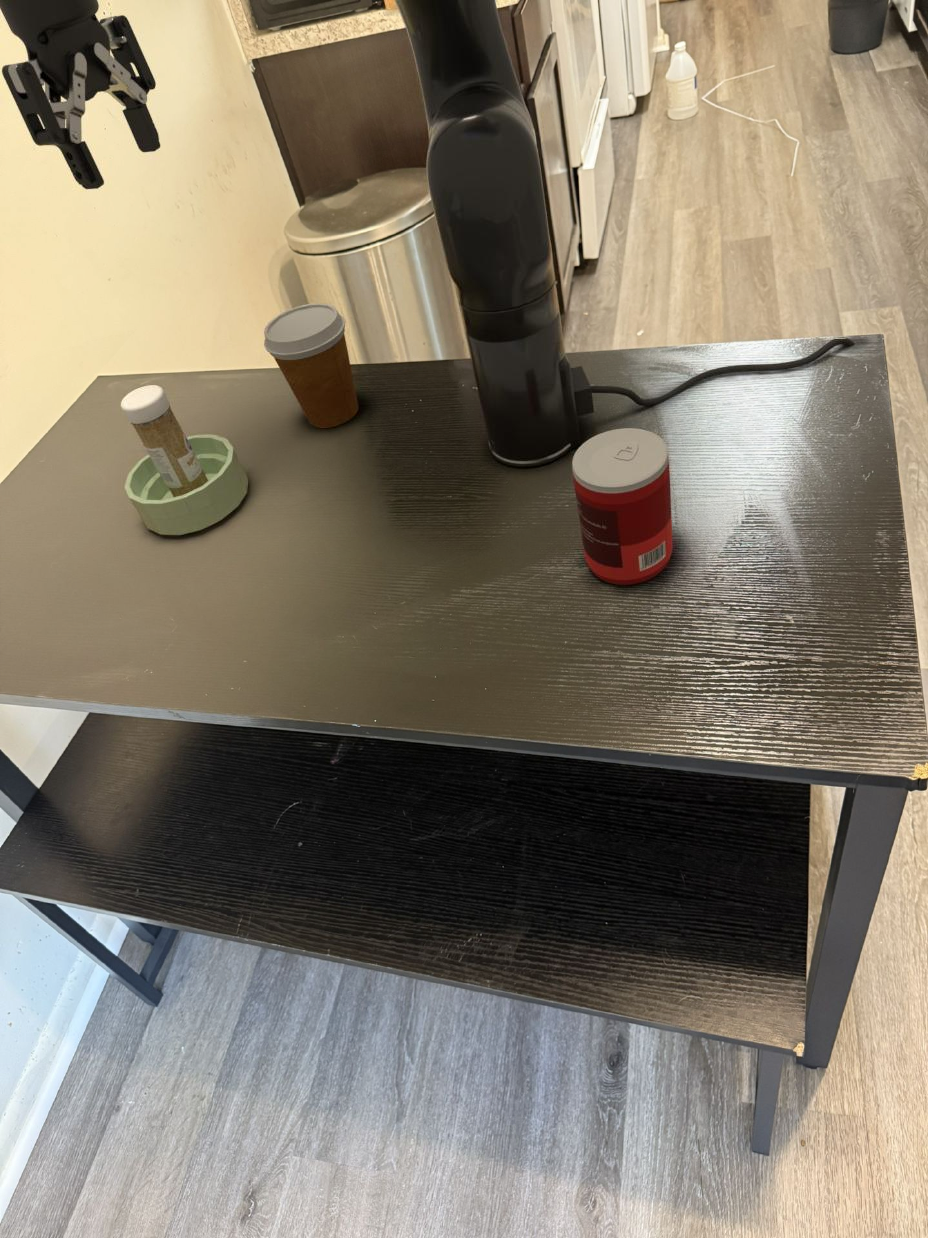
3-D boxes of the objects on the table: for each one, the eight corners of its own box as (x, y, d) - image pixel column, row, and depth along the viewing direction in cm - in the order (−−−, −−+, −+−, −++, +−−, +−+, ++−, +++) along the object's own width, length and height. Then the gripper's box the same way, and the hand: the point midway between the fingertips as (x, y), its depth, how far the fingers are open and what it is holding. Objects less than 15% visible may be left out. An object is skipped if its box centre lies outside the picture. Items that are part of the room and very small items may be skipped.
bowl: (253, 460, 102) (236, 424, 98) (246, 523, 93) (228, 486, 89) (154, 484, 102) (134, 449, 99) (138, 550, 94) (116, 514, 90)
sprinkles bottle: (221, 498, 96) (167, 393, 87) (184, 517, 95) (126, 413, 86) (207, 481, 99) (154, 378, 90) (171, 500, 98) (113, 397, 89)
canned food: (680, 529, 78) (676, 427, 71) (664, 591, 73) (658, 489, 66) (596, 524, 81) (584, 425, 73) (576, 584, 76) (560, 485, 68)
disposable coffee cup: (287, 411, 108) (251, 322, 99) (357, 382, 109) (328, 292, 101) (307, 446, 101) (270, 353, 93) (382, 415, 103) (352, 321, 94)
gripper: (-4, -28, 64) (105, 198, 75) (116, -75, 72) (198, 135, 83) (-70, -13, 67) (44, 203, 78) (53, -60, 75) (140, 141, 86)
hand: (124, 167), depth 81 cm, fingers open, 8 cm apart
